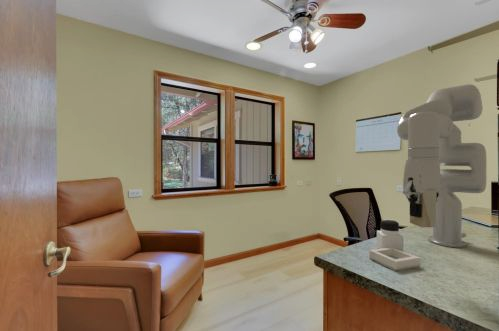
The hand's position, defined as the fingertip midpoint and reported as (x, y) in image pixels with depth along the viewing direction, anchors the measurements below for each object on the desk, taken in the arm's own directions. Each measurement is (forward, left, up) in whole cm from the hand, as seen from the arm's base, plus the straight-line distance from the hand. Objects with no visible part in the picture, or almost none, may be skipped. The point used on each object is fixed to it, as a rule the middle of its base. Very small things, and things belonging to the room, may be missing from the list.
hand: (422, 215), depth 71 cm
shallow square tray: (-2, -11, -19) cm, 22 cm away
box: (0, 0, -3) cm, 3 cm away
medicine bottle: (-9, -19, -19) cm, 28 cm away
